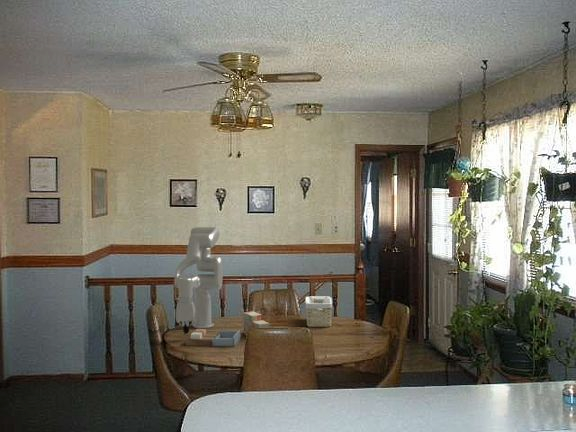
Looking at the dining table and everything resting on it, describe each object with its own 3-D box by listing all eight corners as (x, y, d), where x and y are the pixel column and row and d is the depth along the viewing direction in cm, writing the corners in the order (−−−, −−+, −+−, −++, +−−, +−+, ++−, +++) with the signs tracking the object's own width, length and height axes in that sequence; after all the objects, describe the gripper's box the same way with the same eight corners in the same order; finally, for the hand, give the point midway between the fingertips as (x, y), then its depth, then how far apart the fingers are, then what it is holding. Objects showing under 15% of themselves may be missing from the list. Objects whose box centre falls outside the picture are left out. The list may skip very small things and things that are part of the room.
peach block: (197, 333, 329) (197, 328, 329) (206, 333, 329) (205, 328, 329) (194, 335, 325) (194, 330, 324) (203, 335, 324) (203, 331, 324)
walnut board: (193, 337, 331) (193, 332, 331) (218, 338, 330) (218, 333, 330) (185, 345, 315) (185, 339, 315) (211, 345, 314) (211, 340, 314)
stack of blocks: (269, 339, 326) (269, 317, 325) (259, 341, 323) (258, 318, 322) (253, 332, 345) (252, 310, 344) (243, 333, 342) (242, 312, 341)
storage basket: (332, 327, 354) (332, 302, 353) (305, 327, 355) (304, 302, 354) (331, 319, 378) (331, 295, 377) (305, 319, 378) (305, 295, 378)
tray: (219, 337, 331) (219, 329, 330) (241, 338, 329) (240, 329, 329) (211, 346, 313) (211, 336, 313) (234, 346, 311) (234, 337, 311)
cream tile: (193, 336, 322) (193, 332, 321) (202, 336, 321) (202, 332, 321) (190, 339, 317) (190, 334, 316) (199, 339, 316) (199, 334, 316)
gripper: (170, 301, 324) (171, 334, 325) (197, 301, 322) (197, 335, 323) (174, 298, 331) (175, 331, 332) (200, 298, 330) (201, 331, 330)
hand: (186, 333), depth 328 cm, fingers closed
